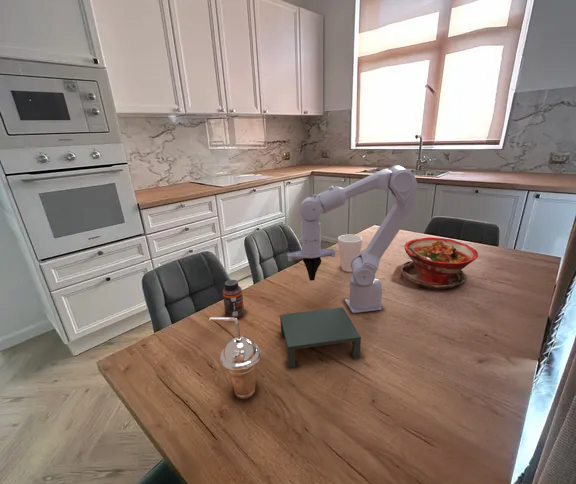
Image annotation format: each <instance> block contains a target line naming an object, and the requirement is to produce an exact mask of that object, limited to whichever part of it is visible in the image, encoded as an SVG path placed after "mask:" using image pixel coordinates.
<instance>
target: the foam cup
mask: <svg viewBox="0 0 576 484" xmlns="http://www.w3.org/2000/svg"><path fill="white" fill-rule="evenodd" d="M363 240H364V239H363V237H362V236H361V235H359V234H350V233H349V234H348V233H347V234H342V235H339V236H338V237H337V245H338V253H339V261H340V269H341V270H342V271H344V272H347V273H348V272H349V273H353V272H352V269H351V262H352V260H353V259H354V258H355V257H357V256H358V255H359V254H360V253H361V251H362V246H363V243H364V242H363Z"/></svg>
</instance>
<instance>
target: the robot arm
mask: <svg viewBox="0 0 576 484" xmlns="http://www.w3.org/2000/svg"><path fill="white" fill-rule="evenodd" d="M418 186H419V185H418V181H417V178H416V176H415V174H414V172H413V171H411V170H409V169H407V168H405V167H404V166H402V165H398V164H397V165H392V166H390V167H389V168H383V169H381V170H378V171H376V172H374V173H372V174H370V175H367V176H365V177H363V178H362V179H359V180H357V181H355V182H353V183H351V184H349V185H347V186H345V187H341V186H338V185H336V186H334V185H331V186H329V187H327V188H328V189H326V190H325V191H322V192H320V193H318V194H317V193H313V194H312V197H311V196H308V197H306V198H304V199H303V200H302V202H301V204H300V208H299V213H300V216H301V217H300V221H301V223H300V236H301V237H300V238H301V250H298V251H292V252H287V254H286V256H287V261H288V262H292V261H298V260H302V262H303V264H304V266H305V268H306V271H307V275H308V279H309V281H310V282H312V281H315V279H316V275H317V273H318V270H319V268H320V266H321V264H322V258H328V257H331V258H334V257H336V250H335V249H334V248H322V246H321V245H322V242H321V235H322V234H321V222H320V216H321V215H322V214H327V213H329V212H332V211H333V210H336V209H338V208H341V207H343V206H345V205H346V203H347V201H348V200H349V199H351V198H354V197H356V196H359V195H362V194H364V193H367V192H370V191H373V190H382V191H386V192H387V191H390V193H391V197H392V199H393V205H392V207H391V208H390V210H389V212H388V213H387V214H386V216H385V217H384V220H383V221H382V222H381V224H380V225H379V227H378V229H377V230H376V231H375V233H374V235H373V236H372V238H371V240H370V241H369V243H368V244H367V246H366V248H365V249H363V250H361V251H360V254H359V255H358V256H357V257H355V258H354V259H353V260H352V262H351V269H352V272H351V273H352V275H351V276H350V278H349V295H348V296H349V297H348V298H345V299H344V303H346V306H348V308H349V309H350V311H351V313H353V314H357V313H359V314H360V313H366V312H374V311H381V310H382V309H383V308H382V296H383V294H382V293H383V288H382V287H383V286H382V283H381V281H380V280H379V278H375V277H376V273H377V271H378V270H379V266H380V262H381V259H382V257H383V256H384V254H385V252H386V251H387V250H388V248H389V246H390V245H391V244H392V243H393V240H394V239H395V238H396V236H397V235H398V233H399V231H400V230H401V229H402V227H403V226H404V224H405V223H406V221H408V218H409V217H410V215H411V214H412V213H413V210H414V209H415V207H416V201H417V200H416V199H417V189H418Z"/></svg>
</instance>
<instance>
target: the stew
mask: <svg viewBox="0 0 576 484" xmlns="http://www.w3.org/2000/svg"><path fill="white" fill-rule="evenodd" d="M404 251H405V253H406V254H407V256H408V257H409V259H410V260H409V261H406V262H405V263H403V264H400V265H398V266H397V267H396V268H395V270H394V271H393V274H392V282H396V283H399V284H401V285H403V286H406V287H409V288H413V289H415V290H416V289H417V290H420V289H422V290H427V291H443V292H444V291H450V290H454V289H457V288H458V287H459V286H460V285H461V284H463V283H465V281H466V280H467V275H466V274H465V273H464V271H463V269H465V268H466V267H467V266H468V265H470V264H471V263H473V262H474V261H475V260H476V259H477V258H478V257H479V253H478V251H477V249H475V248H473V247H472V246H469V245H468V244H466V243H463V242H460V241H457V240H454V239H451V238H442V237H422V238H415V239H411V240H409V241H407V242H405V244H404ZM449 280H451V282H452V283H451V284H449Z"/></svg>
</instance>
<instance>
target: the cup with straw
mask: <svg viewBox="0 0 576 484" xmlns="http://www.w3.org/2000/svg"><path fill="white" fill-rule="evenodd" d="M208 319H209V320H208V321H209V322H234V324H235V333H236V336H234V337H233V338H230V339H229V340H228V341H227V342H226V344H225V346H224V347H223V349H222V350H221V351H220V357H219V362H220V364H221V365H222V366H223V367H224V368H226V371H227V373H228V375H229V378H230V382H231V385H232V388H233V392H234V396H235V397H237V398H238V399H241V400H245V399H249V398H251V397H252V396H254V394H255V392H256V377H257V364H258V362H259V360H260V358H261V355H262V352H261V350H260V346H258V344H257V343H255V342H254V341H253V340H252V339H251V338H249V337H247V336H245V335H244V336H243V335H241V330H240V322H239V320H238V318H234V317H227V316H226V317H225V316H222V317H221V316H219V317H217V316H214V317H213V316H212V317H211V316H210V317H209V318H208Z"/></svg>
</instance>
